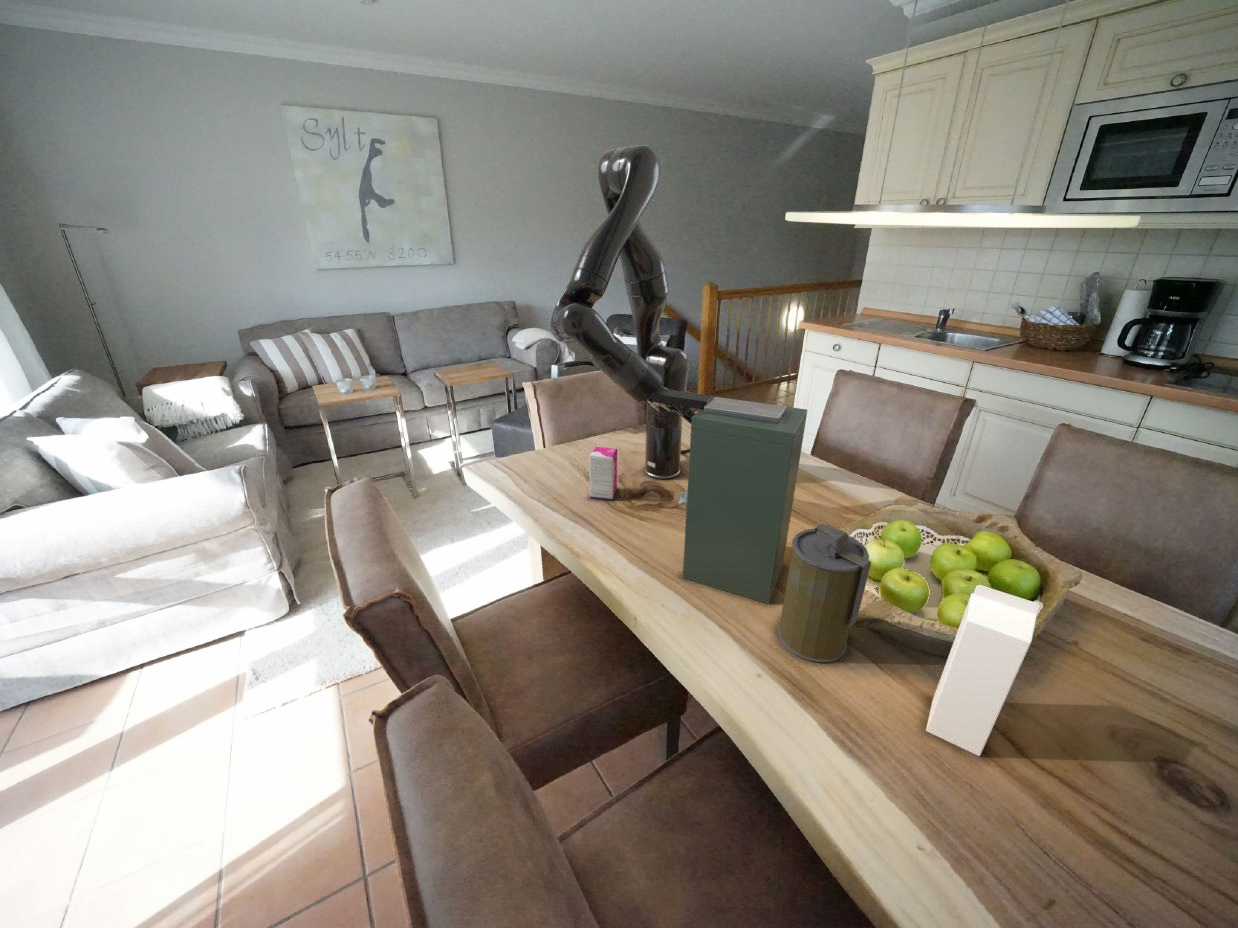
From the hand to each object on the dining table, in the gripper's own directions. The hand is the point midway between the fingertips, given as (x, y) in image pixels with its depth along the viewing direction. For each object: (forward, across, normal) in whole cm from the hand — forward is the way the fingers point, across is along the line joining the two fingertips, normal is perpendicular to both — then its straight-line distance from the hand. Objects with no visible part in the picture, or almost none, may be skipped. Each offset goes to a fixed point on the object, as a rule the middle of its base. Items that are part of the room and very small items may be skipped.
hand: (684, 418), depth 112 cm
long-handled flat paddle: (-11, -24, +2) cm, 27 cm away
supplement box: (+2, +16, +24) cm, 28 cm away
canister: (+17, -42, +26) cm, 52 cm away
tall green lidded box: (+14, -23, +23) cm, 35 cm away
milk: (+23, -62, +25) cm, 70 cm away
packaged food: (+18, -1, +13) cm, 22 cm away
